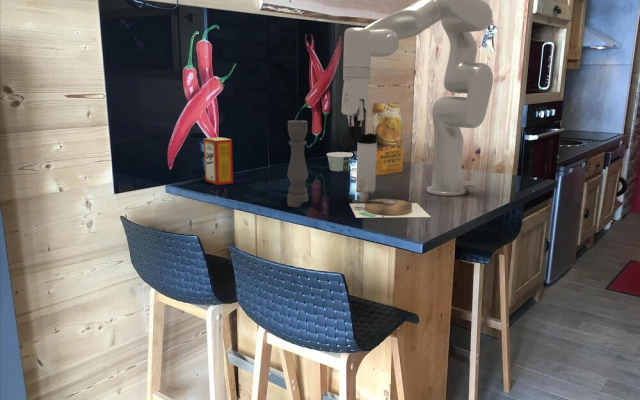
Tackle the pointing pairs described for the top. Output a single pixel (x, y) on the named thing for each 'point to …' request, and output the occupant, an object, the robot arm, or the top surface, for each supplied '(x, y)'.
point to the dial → (382, 203)
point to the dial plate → (362, 213)
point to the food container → (339, 161)
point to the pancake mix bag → (388, 137)
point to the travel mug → (367, 160)
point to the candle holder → (297, 164)
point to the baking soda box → (218, 160)
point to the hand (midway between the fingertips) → (354, 140)
